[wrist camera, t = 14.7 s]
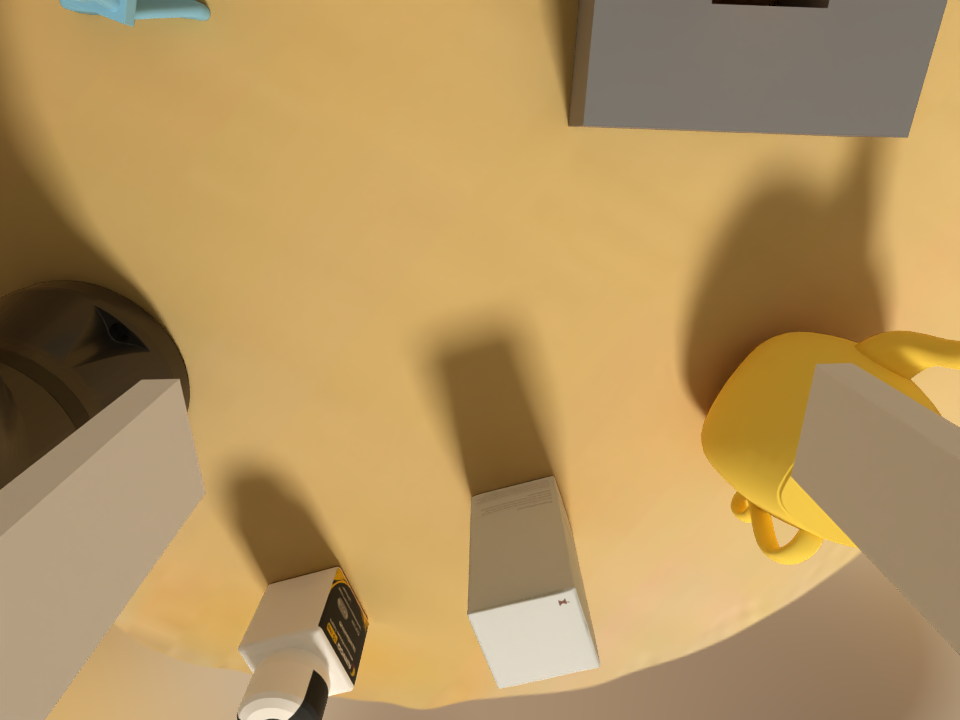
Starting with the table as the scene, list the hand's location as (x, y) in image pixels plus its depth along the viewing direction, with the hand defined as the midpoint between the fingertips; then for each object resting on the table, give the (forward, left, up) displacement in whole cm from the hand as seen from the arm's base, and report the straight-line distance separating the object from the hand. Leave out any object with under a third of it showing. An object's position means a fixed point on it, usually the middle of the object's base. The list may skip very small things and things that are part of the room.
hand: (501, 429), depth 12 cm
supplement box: (+4, -25, -30) cm, 39 cm away
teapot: (+24, -12, -30) cm, 40 cm away
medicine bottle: (-14, -35, -30) cm, 48 cm away
